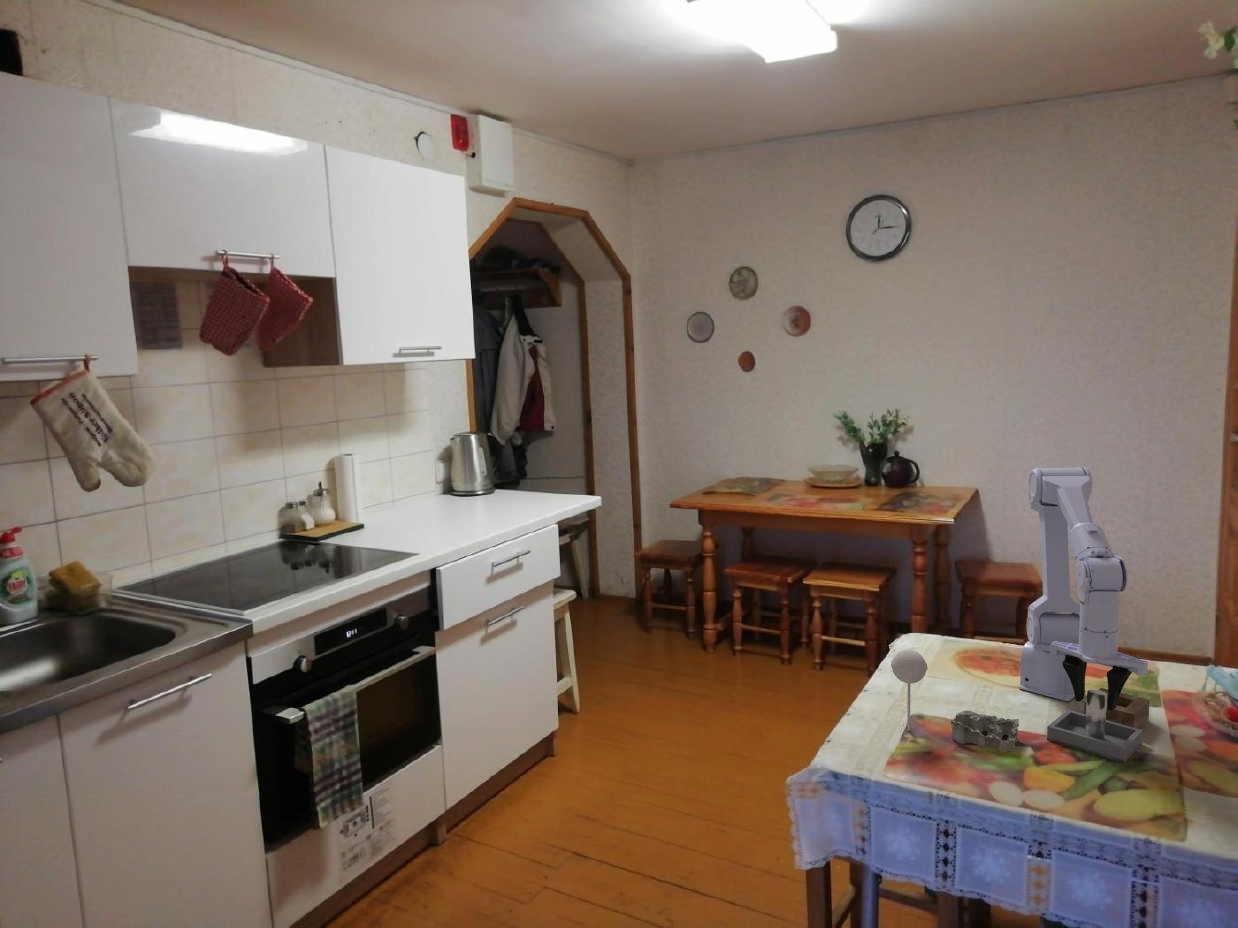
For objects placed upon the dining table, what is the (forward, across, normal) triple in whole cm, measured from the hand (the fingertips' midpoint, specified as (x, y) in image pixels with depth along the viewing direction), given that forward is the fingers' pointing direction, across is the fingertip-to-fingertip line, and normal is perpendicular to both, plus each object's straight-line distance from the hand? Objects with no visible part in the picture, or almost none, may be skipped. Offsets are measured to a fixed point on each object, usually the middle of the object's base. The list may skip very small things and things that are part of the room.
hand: (1095, 703), depth 145 cm
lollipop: (+7, -25, -17) cm, 31 cm away
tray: (+7, 0, 0) cm, 7 cm away
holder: (+7, 0, +10) cm, 13 cm away
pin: (+6, 0, 0) cm, 6 cm away
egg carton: (+7, -14, -11) cm, 19 cm away
